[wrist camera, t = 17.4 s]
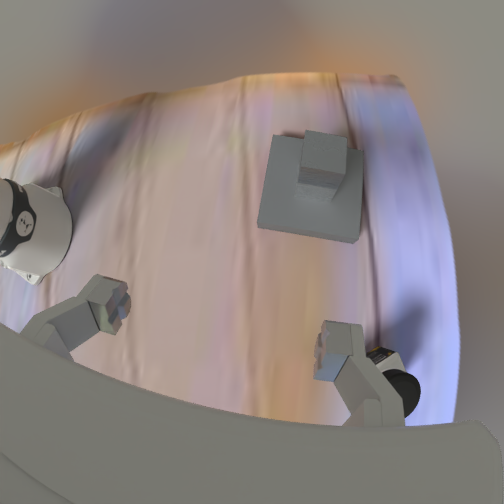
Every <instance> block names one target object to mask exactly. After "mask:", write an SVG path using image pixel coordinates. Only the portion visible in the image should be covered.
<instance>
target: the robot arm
mask: <svg viewBox="0 0 504 504" xmlns="http://www.w3.org/2000/svg"><path fill="white" fill-rule="evenodd" d="M71 234H72V219H71V214H70V211H69V209H68V207H67V206H66V204H65V202H64V200H63V194H62V190H61V188H59V187H51V188H46V189H44V188H42V187H40V186H38V185H36V184H34V183H30V184H26V185H23V186H20V185H19V184H18V183H16V182H14V181H12V180H9V179H2V178H0V266H3V267H4V268H6V269H11V270H14V271H15V272H16V273H18V274H19V275H20V276H21V277H23V278H24V279H25V280H26V281H28V282H29V283H30V284H32V285H35V286H36V285H38V284H39V283H40V282H41V280H42V279H43V277H44V276H45V275H46V274H47V273H49V272H51V271H52V270H54V269H55V268H56V267H57V266H58V265H59V264H60V262H61V261H62V259H63V258H64V256H65V254H66V252H67V249H68V247H69V244H70V240H71ZM127 290H128V286H127V283H126V282H124V281H120V280H117V279H113V278H110V277H105V276H102V275H98V274H96V275H94V276H93V277H92V278H91V280H90V281H89V282H88V283H87V284H86V286H85V287H84V288H83V289H82V290H81V292H80V293H79V294H78V295H77V297H71V298H69V299H67V300H65V301H63V302H61V303H59V304H57V305H55V306H52V307H50V308H48V309H46V310H44V311H42V312H40V313H38V314H36V315H34V316H33V317H32V318H31V320H30V321H29V322H28V323H27V325H26V326H25V327H24V329H23V330H22V331H21V333H20V334H19V333H17V332H15V331H13V330H12V329H10V328H8V327H7V326H5V325H3V324H2V323H0V504H503V466H502V455H501V449H500V445H499V442H498V441H497V439H496V438H495V436H494V435H493V434H492V433H491V432H490V431H489V429H488V428H487V427H486V426H485V425H484V424H483V423H482V422H481V421H479V420H467V421H460V422H453V423H444V424H433V425H421V426H405V419H404V409H403V401H402V398H401V397H400V395H399V394H398V393H397V392H396V390H395V389H394V388H393V387H392V385H391V384H390V383H389V382H388V380H387V379H386V378H385V377H384V375H383V374H382V373H381V372H380V370H379V369H378V368H377V367H376V365H375V364H374V363H373V362H372V360H371V359H370V358H366V351H365V343H364V335H363V328H362V325H360V324H352V323H344V322H336V321H328V320H324V322H323V324H322V326H321V333H319V334H318V337H317V340H316V344H315V351H314V357H315V358H316V362H315V364H314V375H313V379H315V380H322V381H330V382H334V385H335V386H336V388H337V390H338V392H339V394H340V395H341V397H342V399H343V401H344V402H345V404H346V406H347V408H348V410H349V411H350V413H351V416H350V417H349V419H348V420H347V421H346V422H345V423H344V424H343V425H342V426H332V425H319V424H308V423H298V422H290V421H282V420H275V419H268V418H261V417H255V416H250V415H244V414H239V413H234V412H229V411H224V410H220V409H215V408H211V407H206V406H202V405H198V404H194V403H190V402H187V401H183V400H179V399H176V398H172V397H169V396H165V395H162V394H159V393H155V392H152V391H149V390H146V389H143V388H140V387H137V386H134V385H131V384H128V383H126V382H123V381H120V380H117V379H115V378H112V377H110V376H107V375H104V374H102V373H99V372H97V371H95V370H92V369H90V368H87V367H85V366H83V365H80V364H78V363H76V362H74V359H73V358H72V356H71V354H70V353H69V352H70V351H72V350H73V349H75V348H76V347H78V346H79V345H81V344H82V343H84V342H85V341H87V340H88V339H89V338H91V337H92V336H94V335H95V334H97V333H98V332H99V331H102V332H106V333H109V334H112V335H116V334H117V332H118V330H119V329H120V327H121V325H122V321H121V320H122V319H124V318H126V317H127V316H128V314H129V312H130V308H131V298H130V296H129V295H128V293H127V292H126V291H127Z"/></svg>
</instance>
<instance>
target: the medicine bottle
mask: <svg viewBox="0 0 504 504" xmlns="http://www.w3.org/2000/svg"><path fill="white" fill-rule="evenodd" d="M366 358H370V359H371V360H372V362H373V363H374V364H375V365H376V367H377V368H378V369H379V370H380V372H381V373H382V374H383V375H384V377H385V378H386V379H387V380H388V382H389V383H390V384H391V385H392V387H393V388H394V389H395V390H396V392H397V393H398V394H399V395H400V397H401V398H402V401H403V409H404V418H406V417H407V416H409V415H410V414H411V413H412V412H413V410H414V409H415V408H416V406H417V404H418V402H419V399H420V394H421V389H420V384H419V382H418V380H417V379H416V378H415V377H414V376H413V375H411V374H409V373H407V372H406V370H405V368H404V365H403V363H402V360H401V358H400V355H399V353H398V352H395V351H392V350H388V349H385V348H382V347H379V346H378V347H376V348H375V349H373V350H371V351H370V352H368V353H366Z"/></svg>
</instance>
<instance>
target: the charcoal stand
mask: <svg viewBox="0 0 504 504" xmlns="http://www.w3.org/2000/svg"><path fill="white" fill-rule="evenodd" d="M303 141H304V139H299V138H293V137H286V136H279V135H273V137H272V143H271V148H270V154H269V159H268V165H267V170H266V176H265V181H264V187H263V192H262V198H261V203H260V209H259V214H258V219H257V225H258V228H263V229H269V230H275V231H281V232H287V233H293V234H299V235H305V236H311V237H317V238H323V239H328V240H334V241H340V242H345V243H351V244H353V243H355V242H356V241H357V240H358V239H359V231H360V219H361V205H362V186H363V155H364V151H361V150H357V149H352V148H348V147H347V154H346V173H345V176H344V178H343V180H342V182H341V183H340V185H339V187H338V189H337V191H336V193H335V194H334V196H333V198H332V200H331V202H326V201H320V200H315V199H309V198H303V197H297V196H295V190H296V182H297V175H298V168H299V162H300V156H301V151H302V146H303Z"/></svg>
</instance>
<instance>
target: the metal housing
mask: <svg viewBox="0 0 504 504" xmlns="http://www.w3.org/2000/svg"><path fill="white" fill-rule="evenodd" d="M346 154H347V138H346V137H341V136H336V135H331V134H326V133H321V132H315V131H309V130H305V135H304V141H303V146H302V151H301V156H300V162H299V168H298V175H297V182H296V190H295V196H297V197H303V198H309V199H315V200H320V201H326V202H331V200H332V198H333V196H334V194H335V193H336V191H337V189H338V187H339V185H340V183H341V182H342V180H343V178H344V176H345V173H346Z"/></svg>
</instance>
